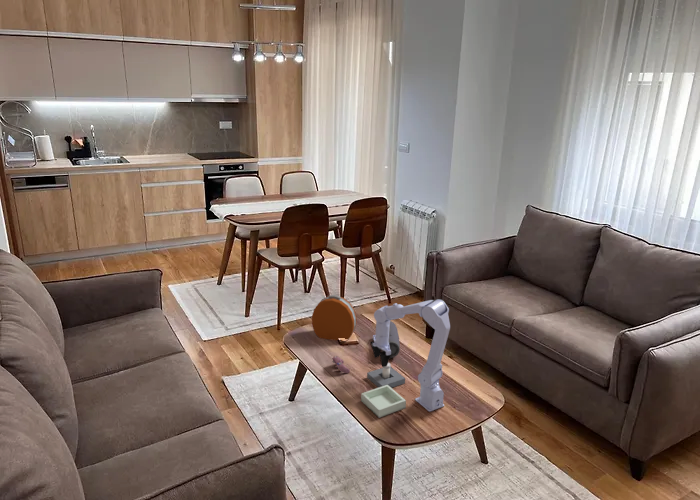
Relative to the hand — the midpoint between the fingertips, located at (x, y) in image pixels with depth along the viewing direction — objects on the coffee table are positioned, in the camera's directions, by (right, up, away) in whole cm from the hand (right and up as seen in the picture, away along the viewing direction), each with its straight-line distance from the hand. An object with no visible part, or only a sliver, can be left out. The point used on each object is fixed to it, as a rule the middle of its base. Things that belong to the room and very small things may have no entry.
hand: (380, 361), depth 217 cm
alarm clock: (-21, +4, +43) cm, 48 cm away
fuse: (+3, -9, +3) cm, 10 cm away
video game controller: (-18, -6, +12) cm, 22 cm away
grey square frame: (+3, -9, +3) cm, 10 cm away
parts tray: (0, -14, -14) cm, 20 cm away
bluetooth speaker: (+6, 0, +31) cm, 32 cm away
